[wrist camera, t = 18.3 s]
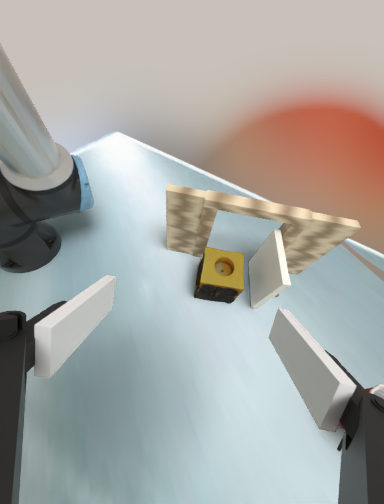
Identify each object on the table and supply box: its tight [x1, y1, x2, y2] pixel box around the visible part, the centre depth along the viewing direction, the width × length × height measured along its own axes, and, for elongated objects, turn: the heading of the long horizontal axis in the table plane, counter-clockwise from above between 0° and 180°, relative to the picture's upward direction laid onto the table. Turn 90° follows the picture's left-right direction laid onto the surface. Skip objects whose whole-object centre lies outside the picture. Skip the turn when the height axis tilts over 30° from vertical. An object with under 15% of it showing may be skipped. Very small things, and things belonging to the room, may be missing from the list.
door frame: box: [166, 184, 361, 274], centre depth 47 cm, size 40×3×22 cm, turn 81°
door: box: [249, 229, 291, 308], centre depth 45 cm, size 14×3×16 cm, turn 173°
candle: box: [194, 247, 244, 303], centre depth 48 cm, size 10×10×10 cm
